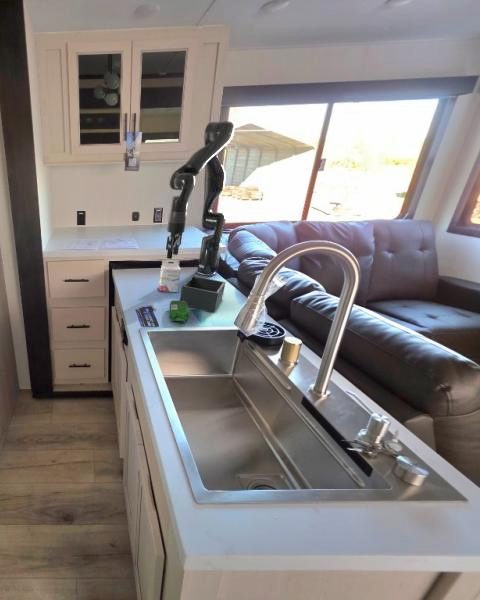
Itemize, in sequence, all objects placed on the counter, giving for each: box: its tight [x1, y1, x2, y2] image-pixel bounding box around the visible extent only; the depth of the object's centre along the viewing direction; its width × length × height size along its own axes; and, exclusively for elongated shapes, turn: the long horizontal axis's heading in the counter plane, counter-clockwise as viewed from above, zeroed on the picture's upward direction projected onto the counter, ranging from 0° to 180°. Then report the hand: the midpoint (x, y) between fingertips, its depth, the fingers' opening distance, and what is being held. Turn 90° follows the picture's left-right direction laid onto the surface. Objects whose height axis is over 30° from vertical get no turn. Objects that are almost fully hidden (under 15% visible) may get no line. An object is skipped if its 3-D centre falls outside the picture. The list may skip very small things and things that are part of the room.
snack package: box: [168, 300, 189, 322], centre depth 125 cm, size 7×16×5 cm, turn 164°
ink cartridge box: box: [158, 259, 182, 293], centre depth 150 cm, size 9×5×15 cm, turn 84°
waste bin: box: [179, 275, 226, 314], centre depth 138 cm, size 16×15×9 cm
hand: (172, 256), depth 146 cm, fingers open, 8 cm apart
